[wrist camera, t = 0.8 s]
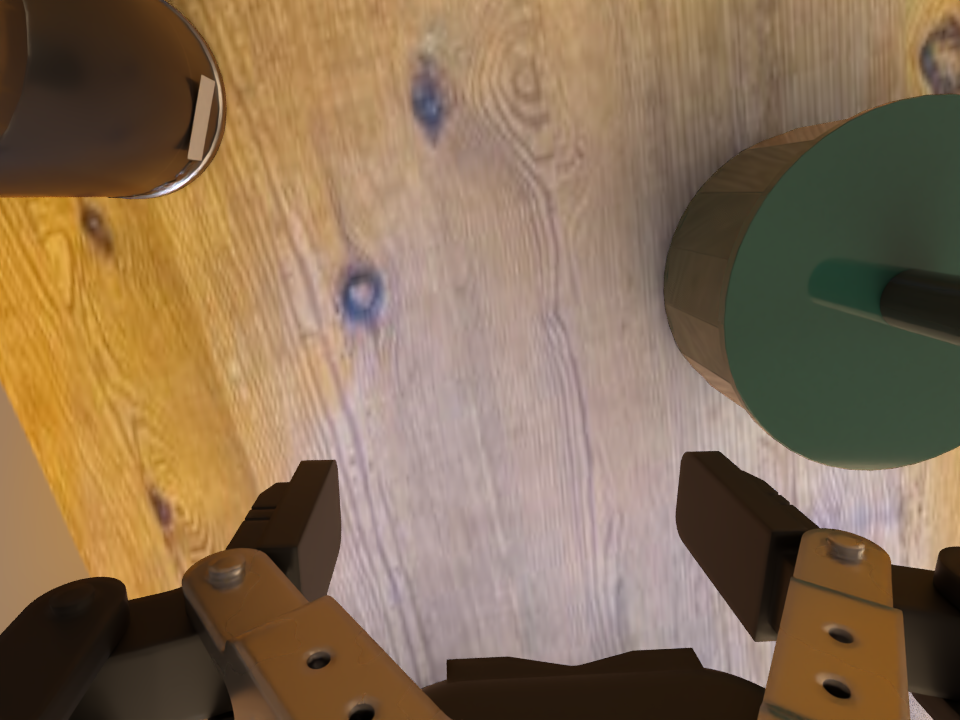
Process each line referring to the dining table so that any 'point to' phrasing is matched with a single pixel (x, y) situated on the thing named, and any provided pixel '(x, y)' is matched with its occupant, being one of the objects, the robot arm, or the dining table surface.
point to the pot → (719, 247)
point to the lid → (854, 292)
